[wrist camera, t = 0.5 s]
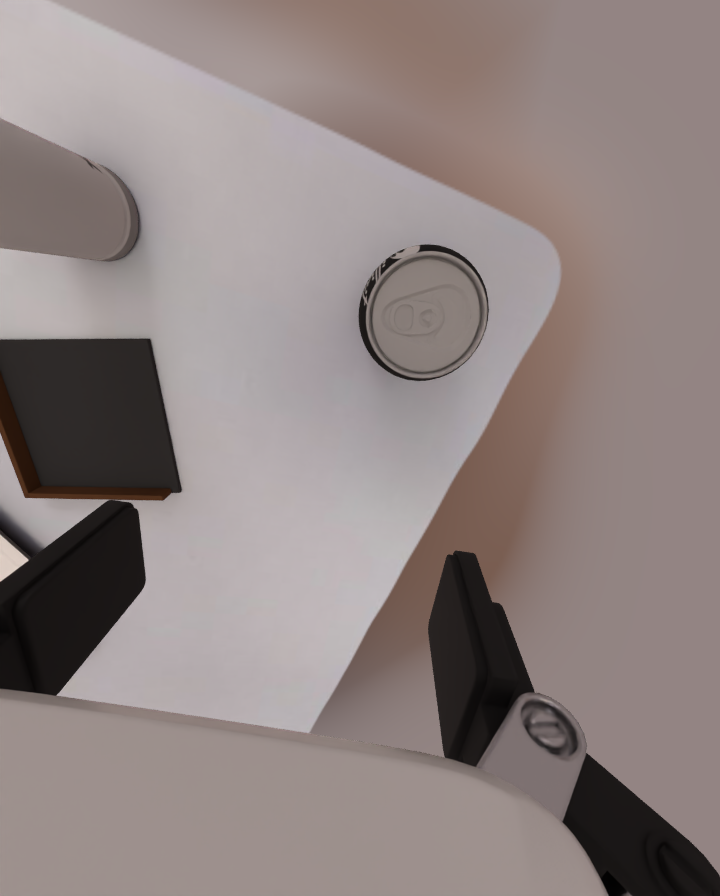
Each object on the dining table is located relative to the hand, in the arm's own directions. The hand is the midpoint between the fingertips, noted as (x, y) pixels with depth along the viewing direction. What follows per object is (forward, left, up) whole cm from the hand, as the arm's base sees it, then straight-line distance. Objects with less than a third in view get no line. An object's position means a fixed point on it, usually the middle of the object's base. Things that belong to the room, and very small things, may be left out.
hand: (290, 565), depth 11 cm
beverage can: (-6, +5, -22) cm, 24 cm away
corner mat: (+3, -23, -22) cm, 32 cm away
